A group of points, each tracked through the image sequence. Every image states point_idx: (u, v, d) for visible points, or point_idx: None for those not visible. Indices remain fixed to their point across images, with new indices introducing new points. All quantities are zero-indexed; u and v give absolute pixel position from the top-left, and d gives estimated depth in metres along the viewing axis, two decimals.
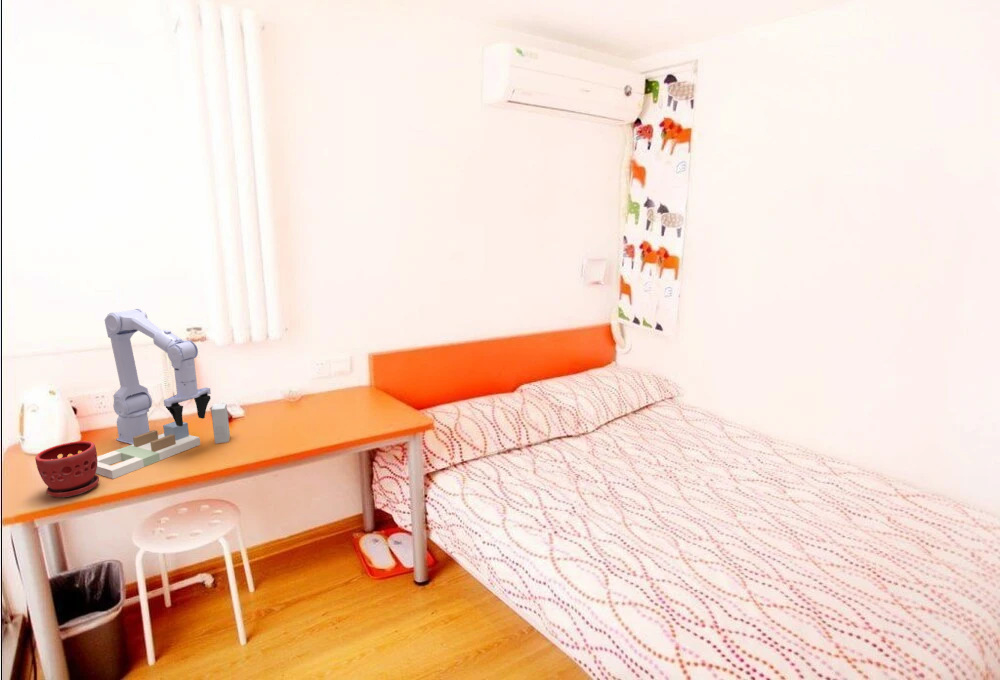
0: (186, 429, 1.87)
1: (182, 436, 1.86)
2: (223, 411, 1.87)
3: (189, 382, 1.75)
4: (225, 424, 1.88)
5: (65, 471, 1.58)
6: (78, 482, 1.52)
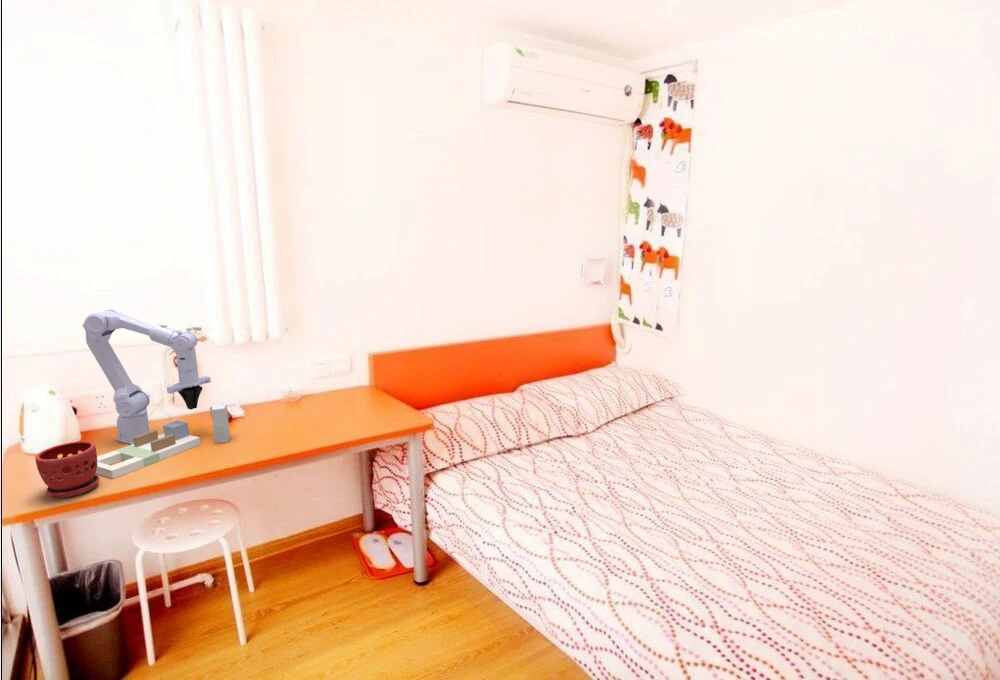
0: (186, 429, 1.87)
1: (182, 436, 1.86)
2: (223, 411, 1.87)
3: (190, 371, 1.87)
4: (225, 424, 1.88)
5: (65, 471, 1.58)
6: (78, 482, 1.52)
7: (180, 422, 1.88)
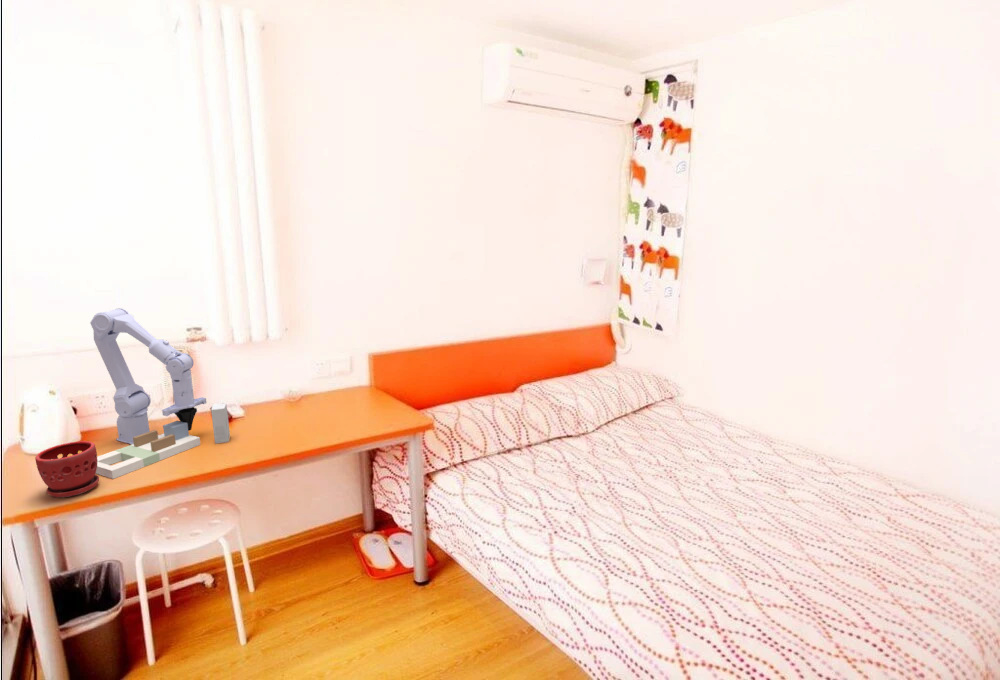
0: (186, 429, 1.87)
1: (182, 436, 1.86)
2: (223, 411, 1.87)
3: (186, 393, 1.86)
4: (225, 424, 1.88)
5: (65, 471, 1.58)
6: (78, 482, 1.52)
7: (180, 422, 1.88)
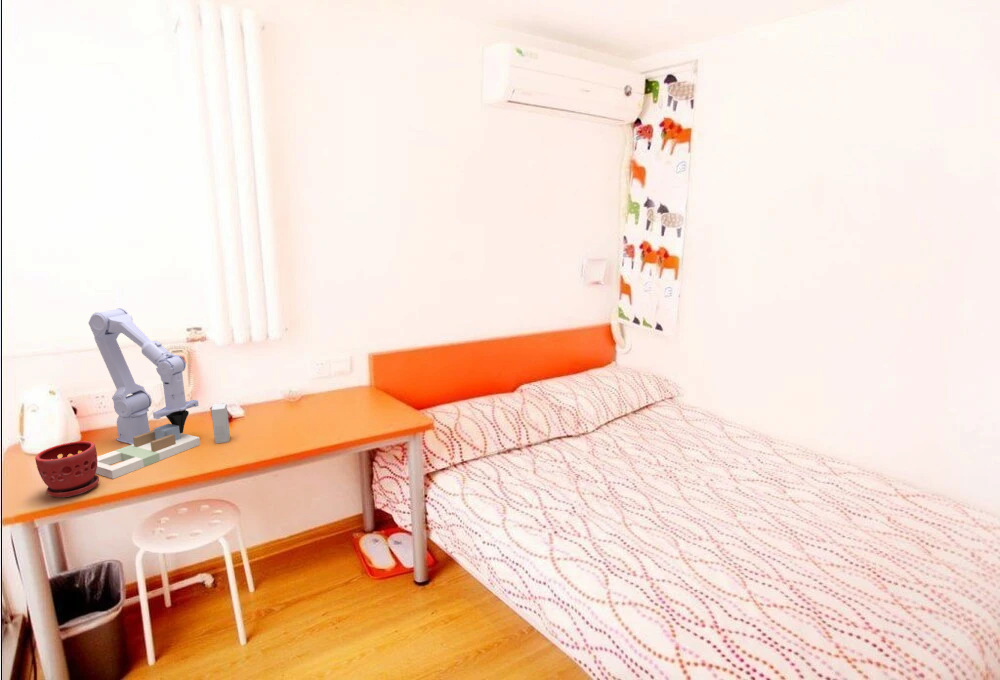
0: (177, 432, 1.84)
1: None
2: (223, 411, 1.87)
3: (177, 395, 1.83)
4: (225, 424, 1.88)
5: (65, 471, 1.58)
6: (78, 482, 1.52)
7: (171, 425, 1.85)
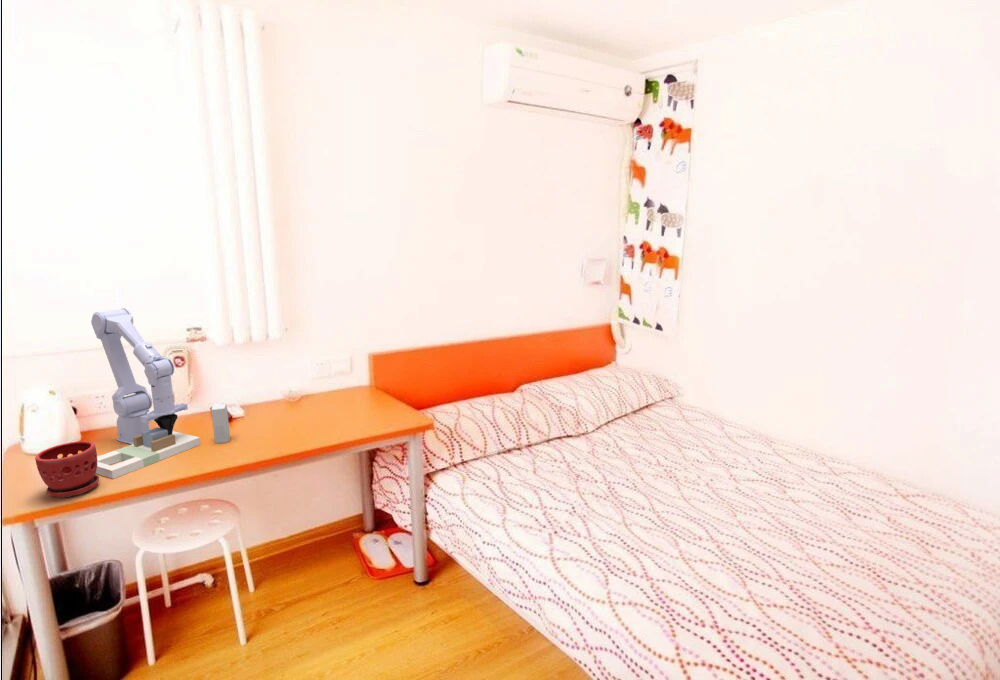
0: None
1: None
2: (223, 411, 1.87)
3: (166, 399, 1.80)
4: (225, 424, 1.88)
5: (65, 471, 1.58)
6: (78, 482, 1.52)
7: (160, 429, 1.81)
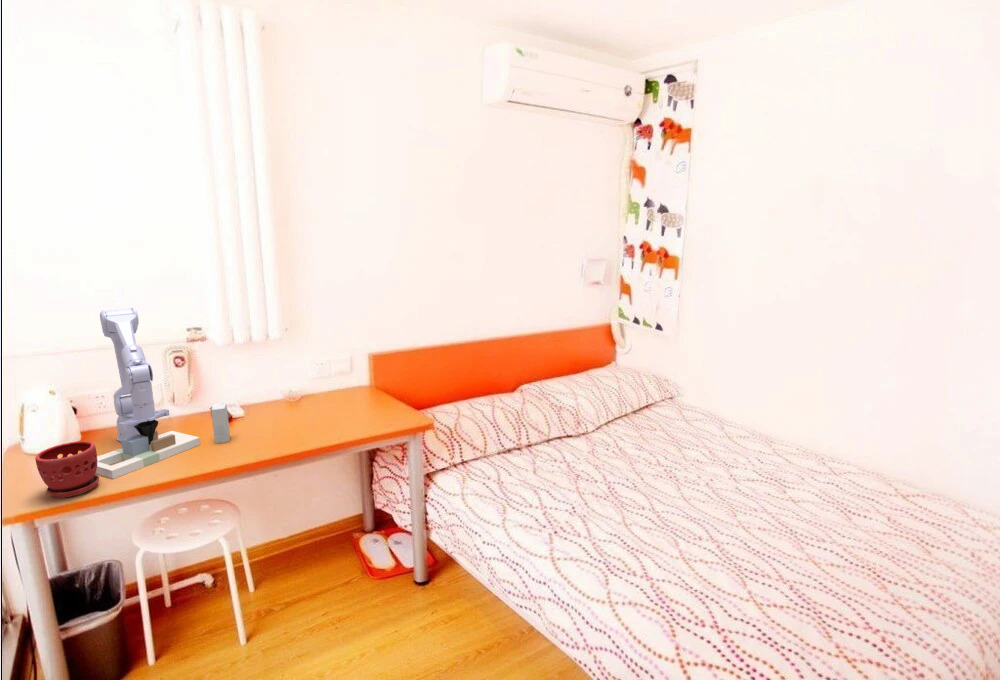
0: (146, 443, 1.75)
1: (142, 451, 1.74)
2: (223, 411, 1.87)
3: (146, 404, 1.74)
4: (225, 424, 1.88)
5: (65, 471, 1.58)
6: (78, 482, 1.52)
7: (140, 436, 1.76)
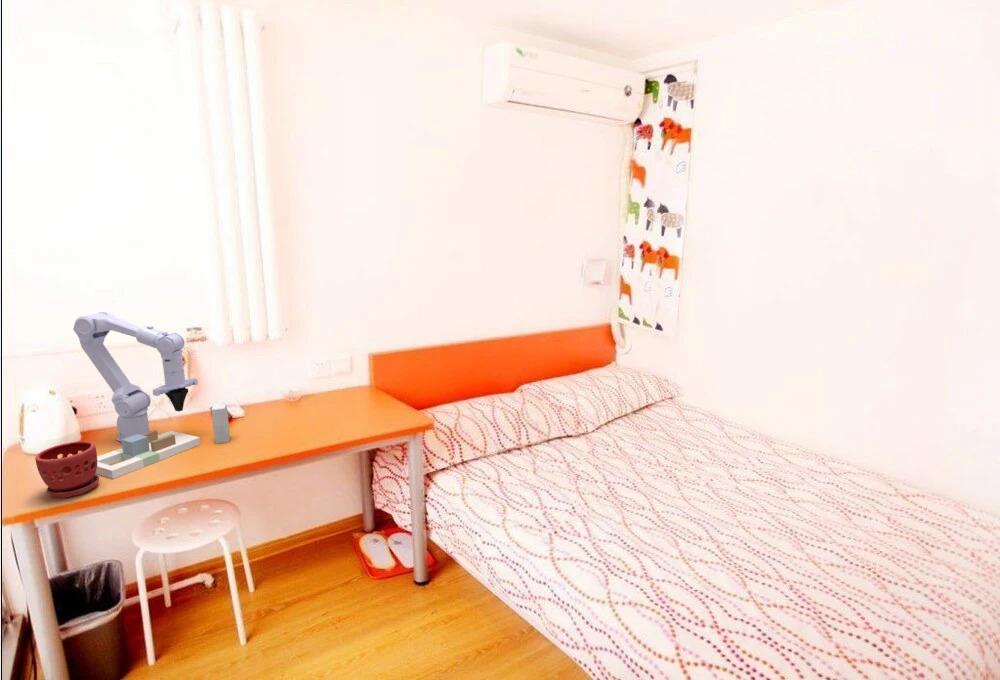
0: (146, 443, 1.75)
1: (142, 451, 1.74)
2: (223, 411, 1.87)
3: (177, 372, 1.84)
4: (225, 424, 1.88)
5: (65, 471, 1.58)
6: (78, 482, 1.52)
7: (140, 436, 1.76)
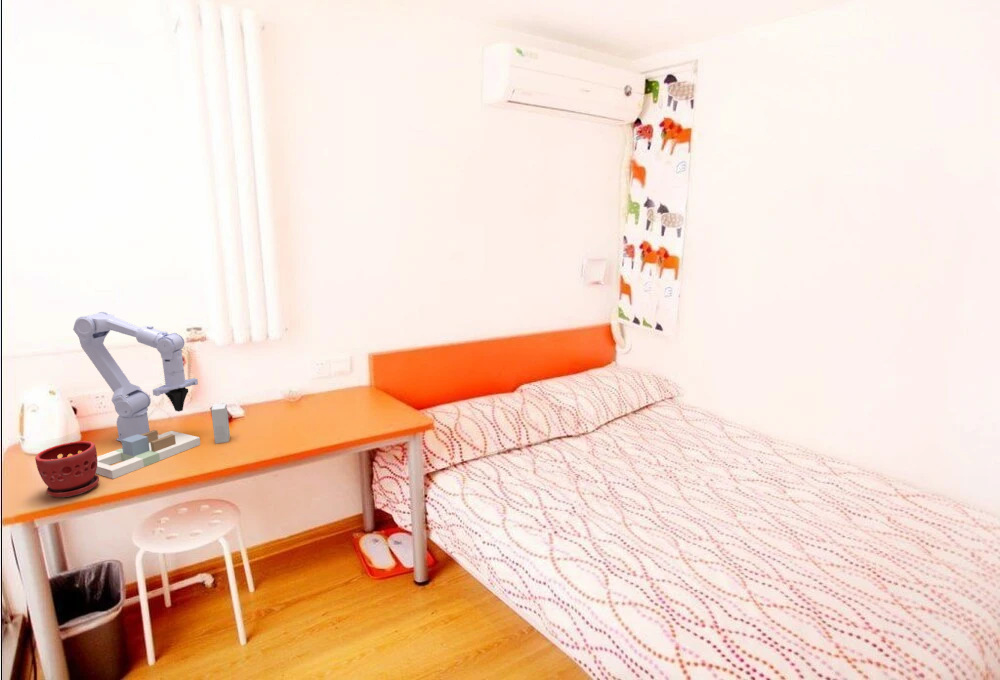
0: (146, 443, 1.75)
1: (142, 451, 1.74)
2: (223, 411, 1.87)
3: (177, 372, 1.84)
4: (225, 424, 1.88)
5: (65, 471, 1.58)
6: (78, 482, 1.52)
7: (140, 436, 1.76)
